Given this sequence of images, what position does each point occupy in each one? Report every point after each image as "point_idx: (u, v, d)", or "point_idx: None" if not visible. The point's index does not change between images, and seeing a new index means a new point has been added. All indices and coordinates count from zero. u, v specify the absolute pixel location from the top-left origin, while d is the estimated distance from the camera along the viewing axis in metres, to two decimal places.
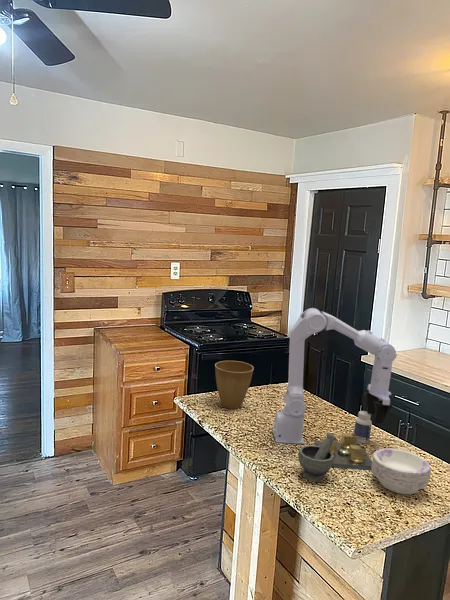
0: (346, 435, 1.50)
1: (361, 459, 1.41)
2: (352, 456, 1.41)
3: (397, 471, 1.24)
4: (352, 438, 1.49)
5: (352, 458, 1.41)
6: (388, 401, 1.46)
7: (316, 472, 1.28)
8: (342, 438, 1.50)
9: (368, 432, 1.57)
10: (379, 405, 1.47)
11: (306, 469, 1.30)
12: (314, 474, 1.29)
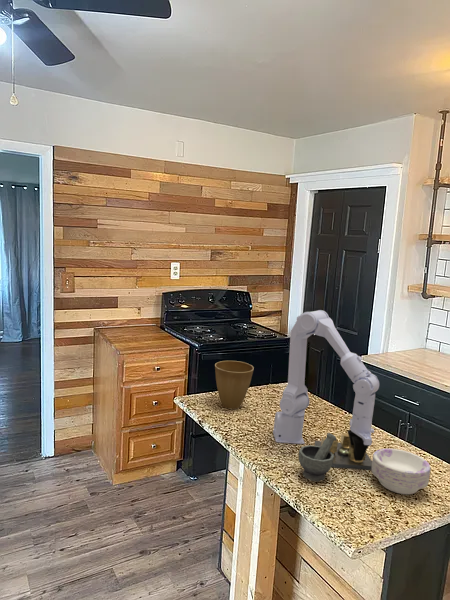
0: (346, 435, 1.50)
1: None
2: (352, 456, 1.41)
3: (397, 471, 1.24)
4: None
5: (352, 458, 1.41)
6: (370, 441, 1.34)
7: (316, 472, 1.28)
8: (342, 438, 1.50)
9: None
10: (357, 441, 1.37)
11: (306, 469, 1.30)
12: (314, 474, 1.29)
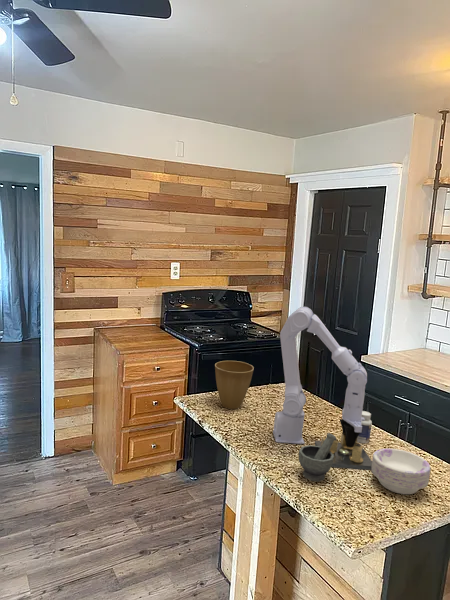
0: None
1: None
2: (360, 458, 1.40)
3: (397, 471, 1.24)
4: None
5: (359, 460, 1.40)
6: (360, 428, 1.42)
7: (316, 472, 1.28)
8: (342, 438, 1.50)
9: (368, 432, 1.57)
10: (349, 429, 1.46)
11: (306, 469, 1.30)
12: (314, 474, 1.29)
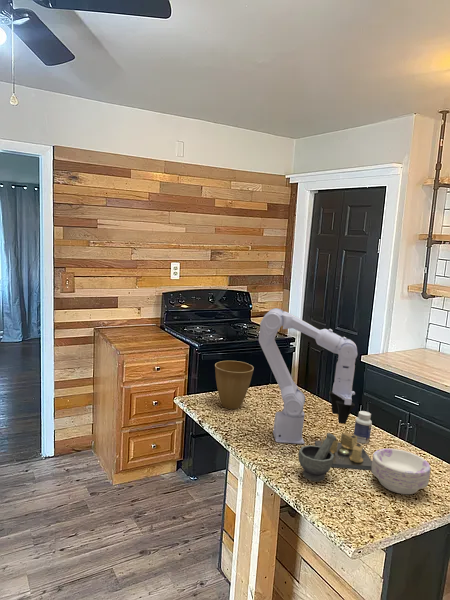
0: (345, 433, 1.51)
1: None
2: (360, 458, 1.40)
3: (397, 471, 1.24)
4: (348, 438, 1.49)
5: (359, 460, 1.40)
6: (350, 401, 1.43)
7: (316, 472, 1.28)
8: None
9: (368, 432, 1.57)
10: (341, 405, 1.44)
11: (306, 469, 1.30)
12: (314, 474, 1.29)
